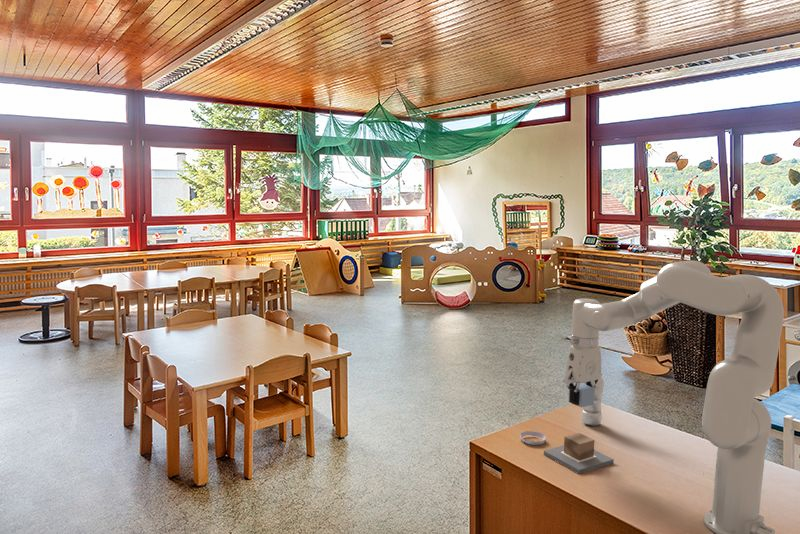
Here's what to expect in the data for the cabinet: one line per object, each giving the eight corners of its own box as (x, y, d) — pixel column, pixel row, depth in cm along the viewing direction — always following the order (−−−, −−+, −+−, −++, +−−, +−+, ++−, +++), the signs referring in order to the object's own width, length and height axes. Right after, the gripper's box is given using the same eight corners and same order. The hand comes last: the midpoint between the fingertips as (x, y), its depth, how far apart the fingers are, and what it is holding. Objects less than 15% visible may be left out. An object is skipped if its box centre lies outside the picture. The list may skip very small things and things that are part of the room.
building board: (613, 463, 172) (613, 458, 171) (578, 473, 165) (579, 469, 165) (577, 445, 184) (577, 440, 184) (543, 454, 177) (543, 450, 177)
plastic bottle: (587, 418, 205) (590, 363, 203) (605, 424, 200) (608, 367, 198) (577, 423, 201) (580, 366, 199) (594, 429, 196) (598, 371, 194)
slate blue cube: (593, 404, 171) (594, 388, 170) (581, 407, 169) (582, 390, 168) (580, 399, 175) (581, 383, 175) (568, 401, 173) (569, 385, 172)
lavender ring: (550, 442, 186) (551, 436, 186) (536, 449, 181) (536, 443, 181) (529, 434, 192) (529, 429, 192) (514, 441, 187) (515, 435, 186)
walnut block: (593, 456, 173) (594, 440, 172) (578, 460, 170) (579, 444, 169) (578, 448, 178) (579, 432, 177) (563, 452, 175) (564, 436, 174)
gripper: (572, 348, 162) (569, 411, 164) (615, 341, 170) (611, 401, 173) (553, 342, 169) (550, 403, 171) (595, 335, 177) (591, 393, 179)
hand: (581, 401), depth 172 cm, fingers closed on slate blue cube, 4 cm apart
